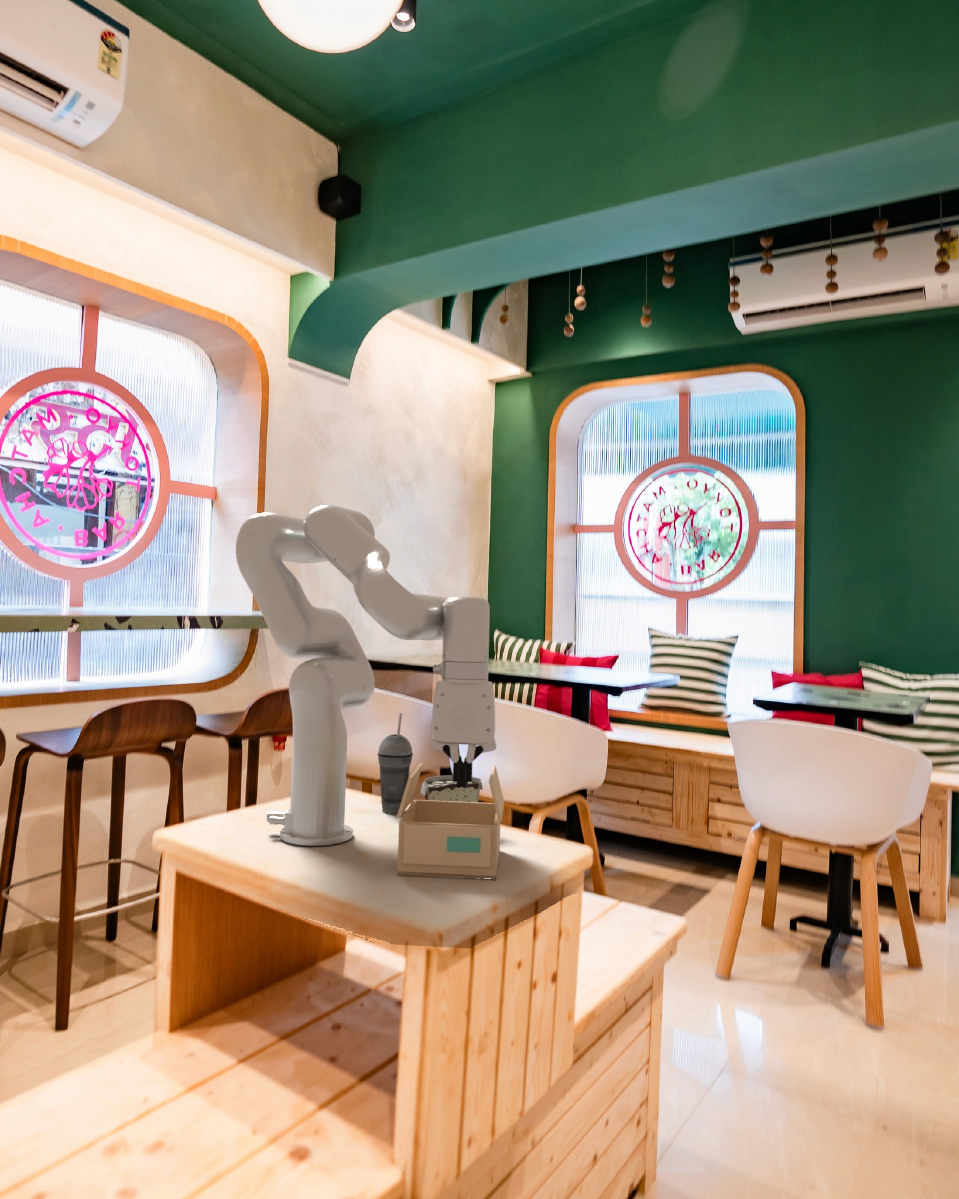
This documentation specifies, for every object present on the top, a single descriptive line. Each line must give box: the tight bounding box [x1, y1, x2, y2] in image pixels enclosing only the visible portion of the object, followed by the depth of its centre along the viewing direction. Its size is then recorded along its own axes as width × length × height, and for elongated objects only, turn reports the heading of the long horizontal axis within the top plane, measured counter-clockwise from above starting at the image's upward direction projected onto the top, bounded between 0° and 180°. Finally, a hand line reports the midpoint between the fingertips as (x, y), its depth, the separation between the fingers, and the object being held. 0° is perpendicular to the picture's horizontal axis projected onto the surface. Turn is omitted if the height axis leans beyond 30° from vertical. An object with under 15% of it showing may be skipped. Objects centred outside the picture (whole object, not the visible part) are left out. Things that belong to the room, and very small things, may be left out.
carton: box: [396, 799, 501, 880], centre depth 129 cm, size 15×17×8 cm
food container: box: [420, 774, 484, 802], centre depth 147 cm, size 12×6×10 cm, turn 123°
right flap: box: [488, 765, 505, 823], centre depth 129 cm, size 6×14×1 cm
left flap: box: [396, 762, 424, 819], centre depth 130 cm, size 6×14×1 cm
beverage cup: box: [377, 712, 414, 815], centre depth 163 cm, size 7×7×20 cm
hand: (462, 786), depth 129 cm, fingers closed
